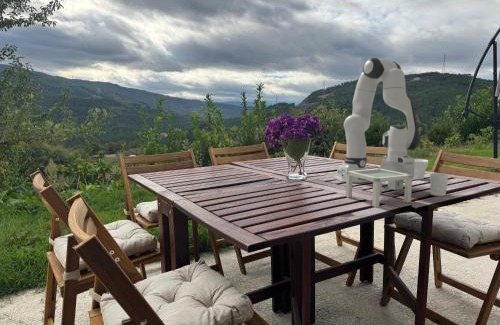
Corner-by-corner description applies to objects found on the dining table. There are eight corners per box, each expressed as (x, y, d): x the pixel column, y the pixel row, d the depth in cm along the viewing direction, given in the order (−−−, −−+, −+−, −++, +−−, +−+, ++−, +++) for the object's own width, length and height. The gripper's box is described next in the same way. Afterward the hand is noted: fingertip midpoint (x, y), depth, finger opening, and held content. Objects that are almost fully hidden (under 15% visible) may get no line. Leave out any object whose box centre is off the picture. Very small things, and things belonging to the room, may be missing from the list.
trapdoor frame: (345, 196, 182) (346, 171, 180) (378, 193, 190) (379, 168, 188) (375, 207, 163) (376, 178, 161) (410, 202, 170) (412, 175, 169)
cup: (428, 177, 230) (429, 159, 228) (425, 180, 220) (427, 162, 218) (407, 175, 237) (408, 158, 235) (403, 179, 226) (404, 160, 225)
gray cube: (387, 187, 191) (388, 178, 190) (395, 187, 192) (396, 177, 192) (394, 189, 186) (395, 180, 185) (402, 189, 188) (403, 179, 187)
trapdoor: (356, 179, 179) (356, 172, 178) (379, 177, 184) (379, 170, 184) (376, 184, 166) (376, 177, 166) (400, 182, 171) (401, 175, 171)
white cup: (439, 197, 180) (441, 176, 179) (425, 193, 187) (426, 174, 186) (450, 195, 184) (451, 175, 182) (436, 192, 191) (437, 172, 189)
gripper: (377, 155, 195) (376, 181, 197) (407, 160, 176) (405, 189, 178) (387, 154, 198) (386, 180, 200) (417, 159, 179) (415, 188, 181)
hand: (395, 184), depth 189 cm, fingers closed on gray cube, 5 cm apart
